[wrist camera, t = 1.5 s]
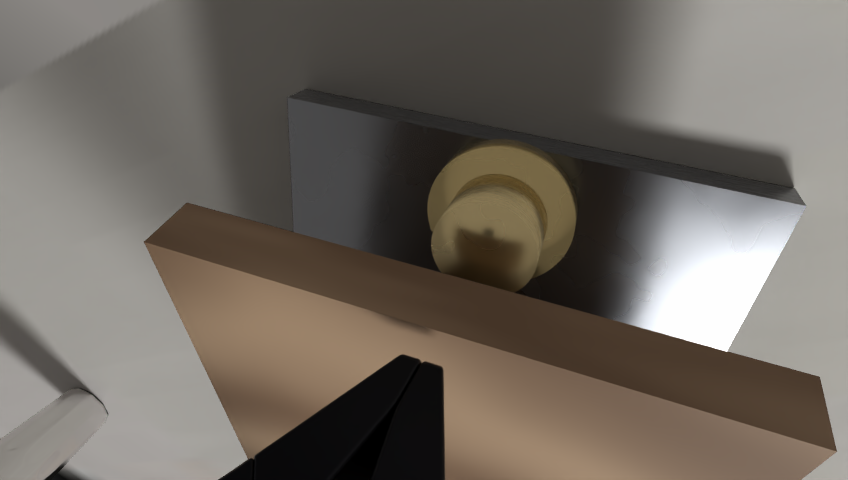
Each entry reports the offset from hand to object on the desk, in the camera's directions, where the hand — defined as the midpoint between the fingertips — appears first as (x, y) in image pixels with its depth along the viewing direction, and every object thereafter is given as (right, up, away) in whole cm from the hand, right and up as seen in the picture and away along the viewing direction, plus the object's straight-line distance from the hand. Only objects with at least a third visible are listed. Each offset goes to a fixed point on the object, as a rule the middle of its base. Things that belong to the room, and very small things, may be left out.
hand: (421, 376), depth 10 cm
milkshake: (-23, -9, +27) cm, 36 cm away
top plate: (+1, -3, +7) cm, 8 cm away
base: (+3, -1, +11) cm, 12 cm away
